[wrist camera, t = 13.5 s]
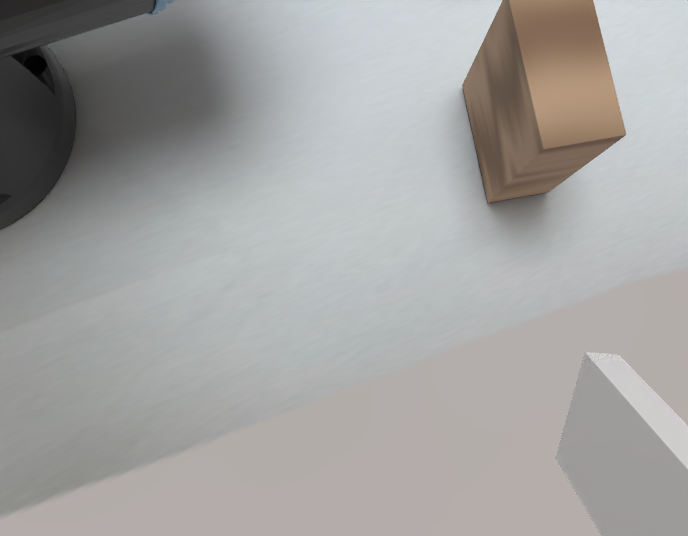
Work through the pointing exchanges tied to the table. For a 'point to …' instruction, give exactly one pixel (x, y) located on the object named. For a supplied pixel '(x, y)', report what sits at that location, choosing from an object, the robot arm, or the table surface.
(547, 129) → the stub
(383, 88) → the table surface
